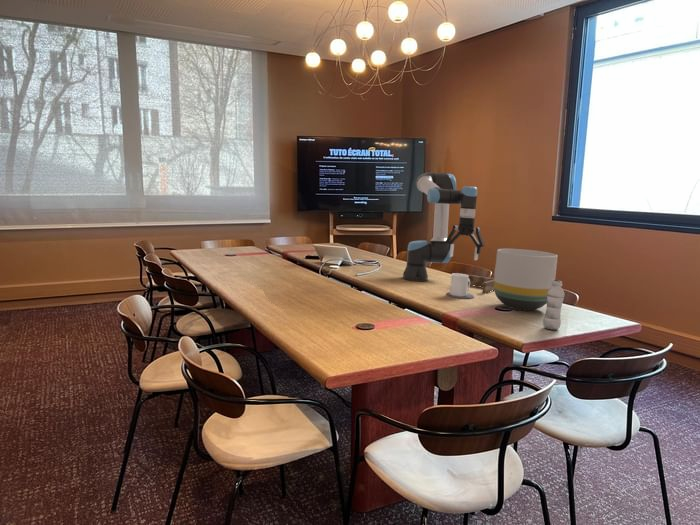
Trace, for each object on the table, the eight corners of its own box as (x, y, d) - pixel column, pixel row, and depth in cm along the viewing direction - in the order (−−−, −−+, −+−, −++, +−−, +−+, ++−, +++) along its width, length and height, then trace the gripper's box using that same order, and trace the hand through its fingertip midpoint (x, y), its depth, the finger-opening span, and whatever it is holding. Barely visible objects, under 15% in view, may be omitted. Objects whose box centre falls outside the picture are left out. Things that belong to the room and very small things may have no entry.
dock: (454, 288, 265) (455, 277, 264) (467, 284, 279) (468, 274, 278) (485, 293, 254) (486, 283, 253) (497, 289, 268) (498, 279, 267)
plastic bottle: (539, 326, 194) (545, 278, 191) (554, 327, 194) (560, 279, 191) (547, 331, 187) (553, 282, 184) (563, 331, 188) (569, 282, 185)
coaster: (441, 295, 244) (441, 294, 244) (453, 291, 255) (453, 290, 255) (467, 300, 236) (467, 299, 236) (478, 296, 247) (478, 295, 247)
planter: (563, 316, 214) (570, 257, 210) (508, 315, 209) (514, 255, 205) (531, 302, 240) (537, 249, 236) (481, 301, 235) (487, 247, 231)
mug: (475, 295, 244) (477, 275, 243) (457, 297, 238) (459, 276, 237) (463, 292, 252) (465, 272, 250) (446, 293, 246) (448, 273, 244)
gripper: (441, 215, 244) (438, 255, 248) (488, 219, 229) (483, 262, 233) (448, 215, 250) (444, 254, 253) (493, 219, 235) (489, 261, 239)
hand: (463, 258), depth 243 cm, fingers open, 13 cm apart
